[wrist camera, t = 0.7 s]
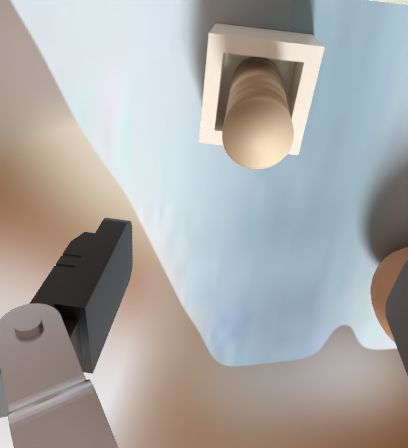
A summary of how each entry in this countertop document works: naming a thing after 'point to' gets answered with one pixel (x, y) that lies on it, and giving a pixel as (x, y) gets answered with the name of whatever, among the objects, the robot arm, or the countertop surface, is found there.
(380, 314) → the egg
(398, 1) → the tray
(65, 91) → the countertop surface
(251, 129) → the dowel
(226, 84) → the holder cup
